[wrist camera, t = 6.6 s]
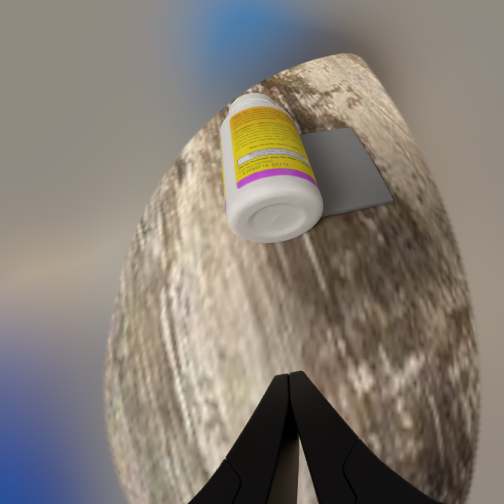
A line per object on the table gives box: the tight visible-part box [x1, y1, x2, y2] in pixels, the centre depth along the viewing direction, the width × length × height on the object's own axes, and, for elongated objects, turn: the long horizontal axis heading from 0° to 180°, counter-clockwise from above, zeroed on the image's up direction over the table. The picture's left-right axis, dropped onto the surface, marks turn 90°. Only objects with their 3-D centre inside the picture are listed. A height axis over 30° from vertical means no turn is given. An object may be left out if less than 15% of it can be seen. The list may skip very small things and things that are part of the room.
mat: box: [299, 128, 394, 218], centre depth 24 cm, size 10×13×1 cm
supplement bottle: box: [220, 93, 323, 243], centre depth 21 cm, size 7×7×13 cm
